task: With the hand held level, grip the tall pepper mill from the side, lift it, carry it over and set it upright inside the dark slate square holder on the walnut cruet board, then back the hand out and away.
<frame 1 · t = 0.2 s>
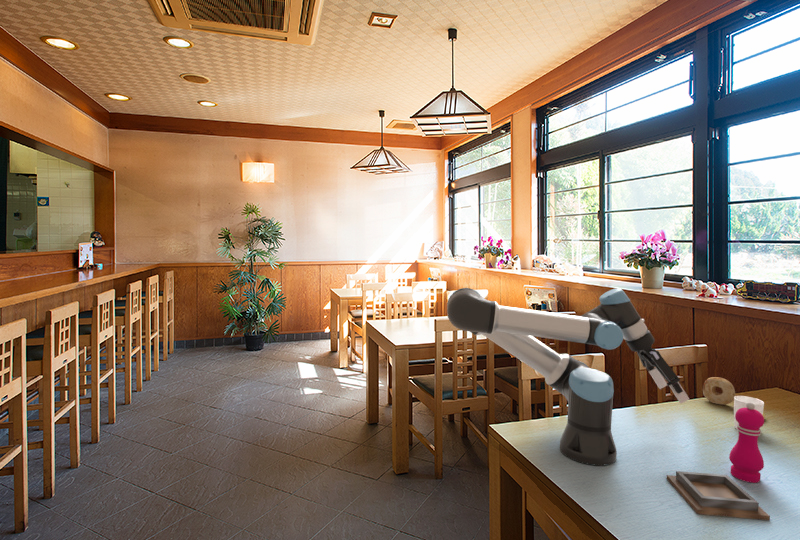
hand: (673, 393, 137), 15 cm above the table, tool tilted 35°, fingers open, 13 cm apart
pepper mill: (745, 477, 118), on the table
white cup: (746, 429, 148), on the table
cruet board: (714, 497, 108), on the table
bread roll: (749, 417, 159), on the table
stone disc: (717, 404, 171), on the table
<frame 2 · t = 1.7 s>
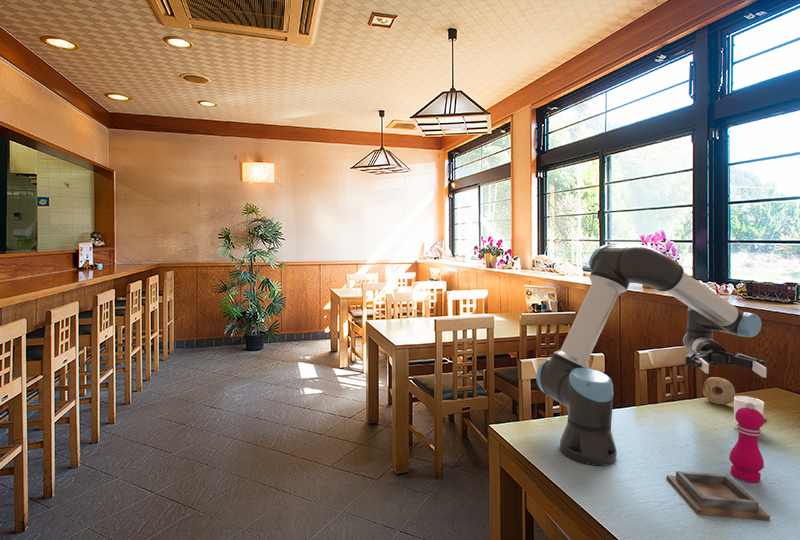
hand: (735, 370, 125), 26 cm above the table, tool horizontal, fingers open, 13 cm apart
nothing on the table moved.
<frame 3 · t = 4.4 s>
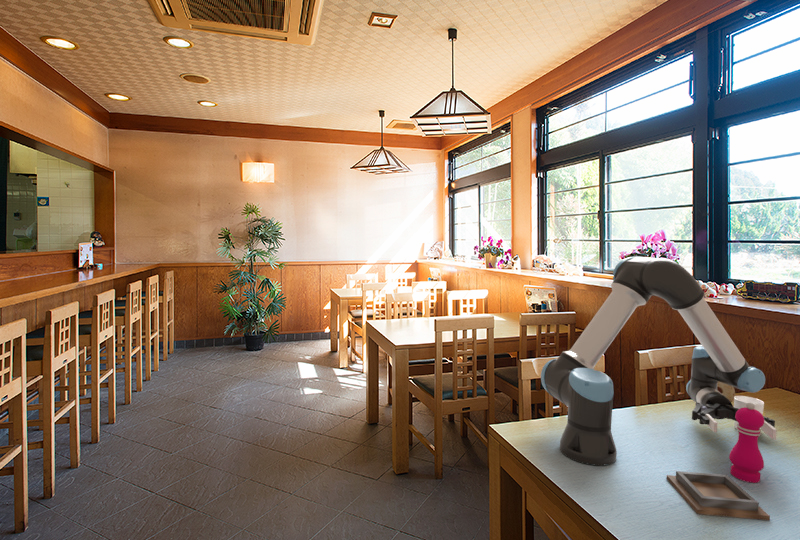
hand: (744, 431, 121), 11 cm above the table, tool horizontal, fingers open, 13 cm apart
nothing on the table moved.
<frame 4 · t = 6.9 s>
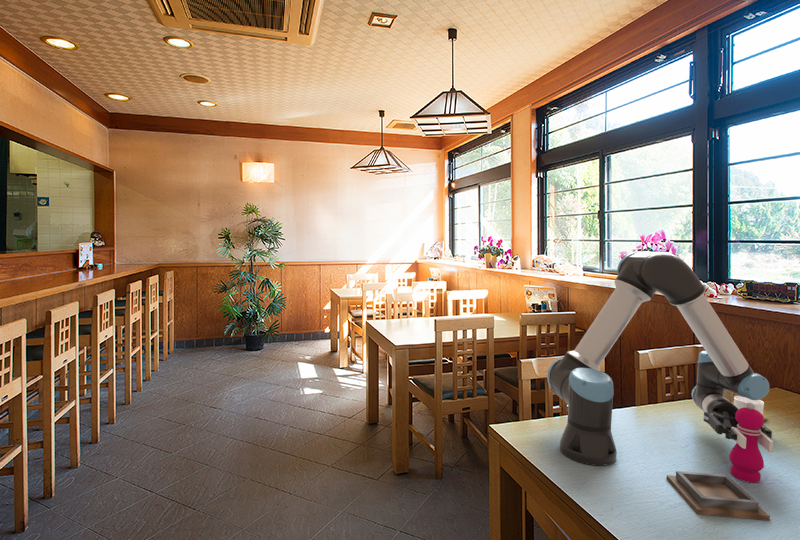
hand: (757, 444, 112), 11 cm above the table, tool horizontal, fingers closed on pepper mill, 5 cm apart
pepper mill: (745, 477, 118), on the table, touching gripper
everything else where it was.
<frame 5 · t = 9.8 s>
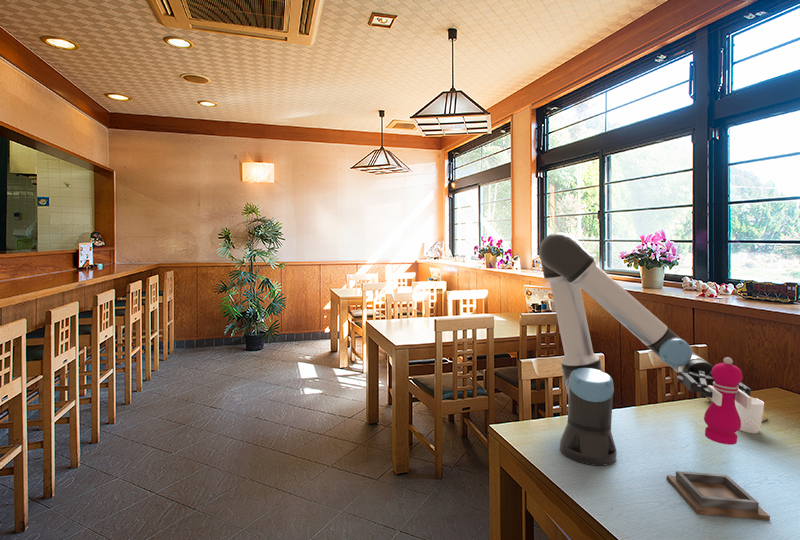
hand: (734, 401, 101), 26 cm above the table, tool horizontal, fingers closed on pepper mill, 5 cm apart
pepper mill: (720, 439, 107), point 14 cm above the table, touching gripper
everything else where it was.
when the fingers open (13 cm above the table, at t = 13.0 s): pepper mill stays where it is, resting on cruet board.
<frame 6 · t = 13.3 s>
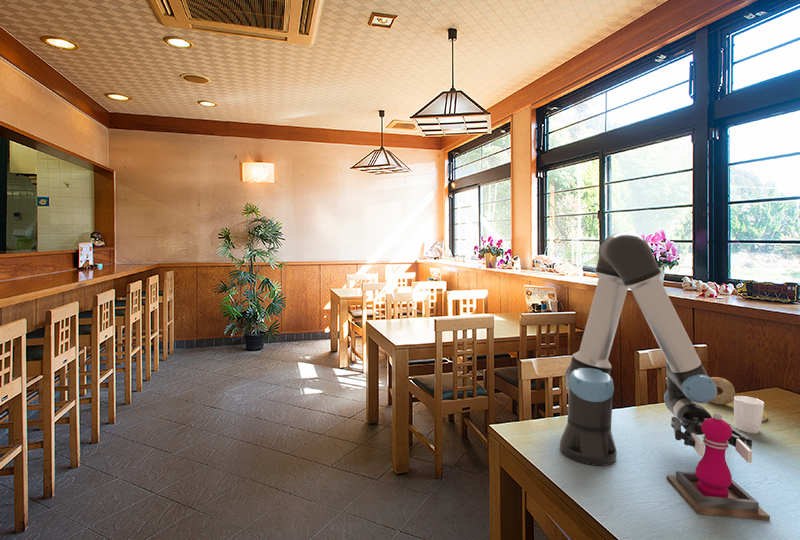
hand: (725, 453, 102), 13 cm above the table, tool horizontal, fingers open, 9 cm apart
pepper mill: (712, 494, 108), point 1 cm above the table, touching cruet board
everything else where it was.
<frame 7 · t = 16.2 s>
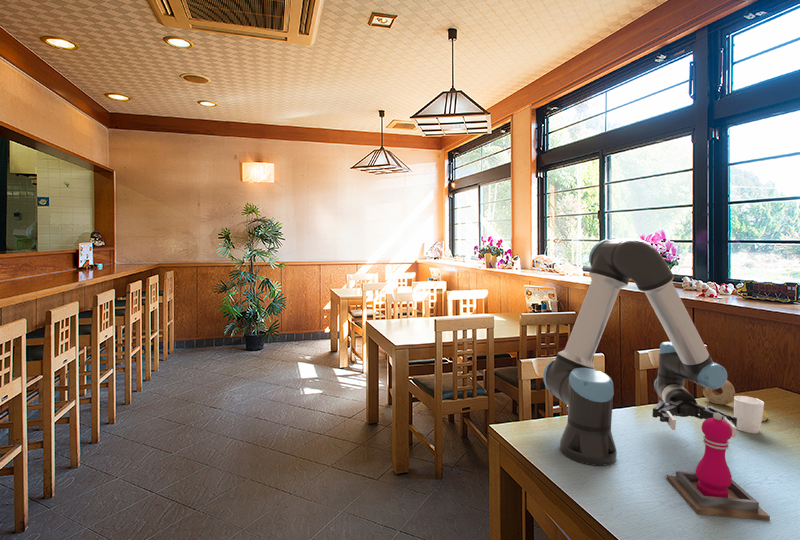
hand: (703, 428, 116), 13 cm above the table, tool horizontal, fingers open, 13 cm apart
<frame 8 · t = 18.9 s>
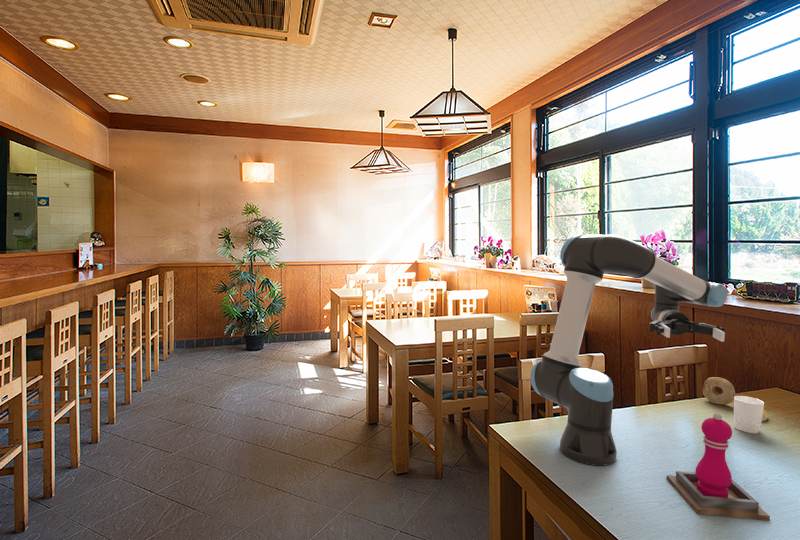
hand: (695, 335, 128), 35 cm above the table, tool horizontal, fingers open, 13 cm apart
at the end: pepper mill 0.4 cm off-centre on the cruet board, point 0.8 cm above the cruet board's base; pepper mill tilted 0°; the gripper is holding nothing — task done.
